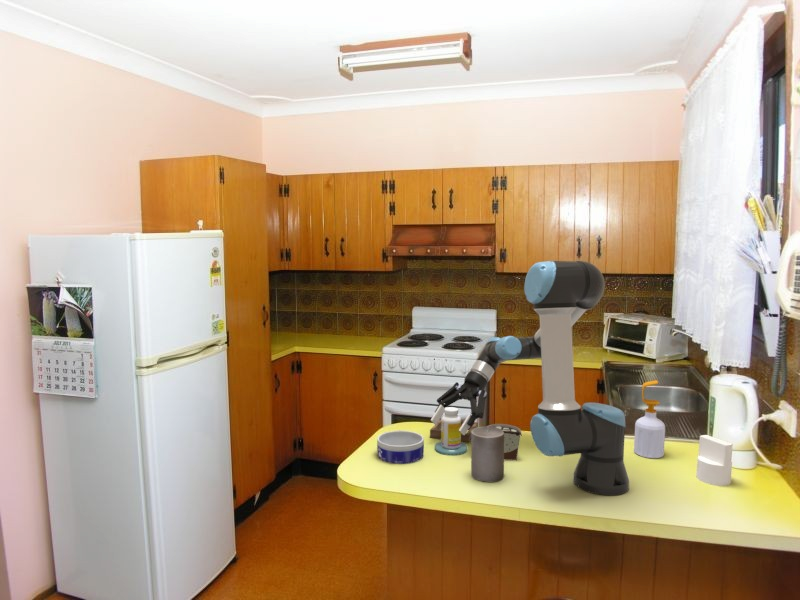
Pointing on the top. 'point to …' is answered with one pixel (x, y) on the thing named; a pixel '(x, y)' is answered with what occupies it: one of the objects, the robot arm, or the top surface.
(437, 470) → the top surface
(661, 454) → the soap bottle
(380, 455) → the dog bowl
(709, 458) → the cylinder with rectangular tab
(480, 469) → the pillar candle
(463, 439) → the square frame
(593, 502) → the top surface
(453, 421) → the supplement bottle
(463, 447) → the coaster
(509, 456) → the food container
